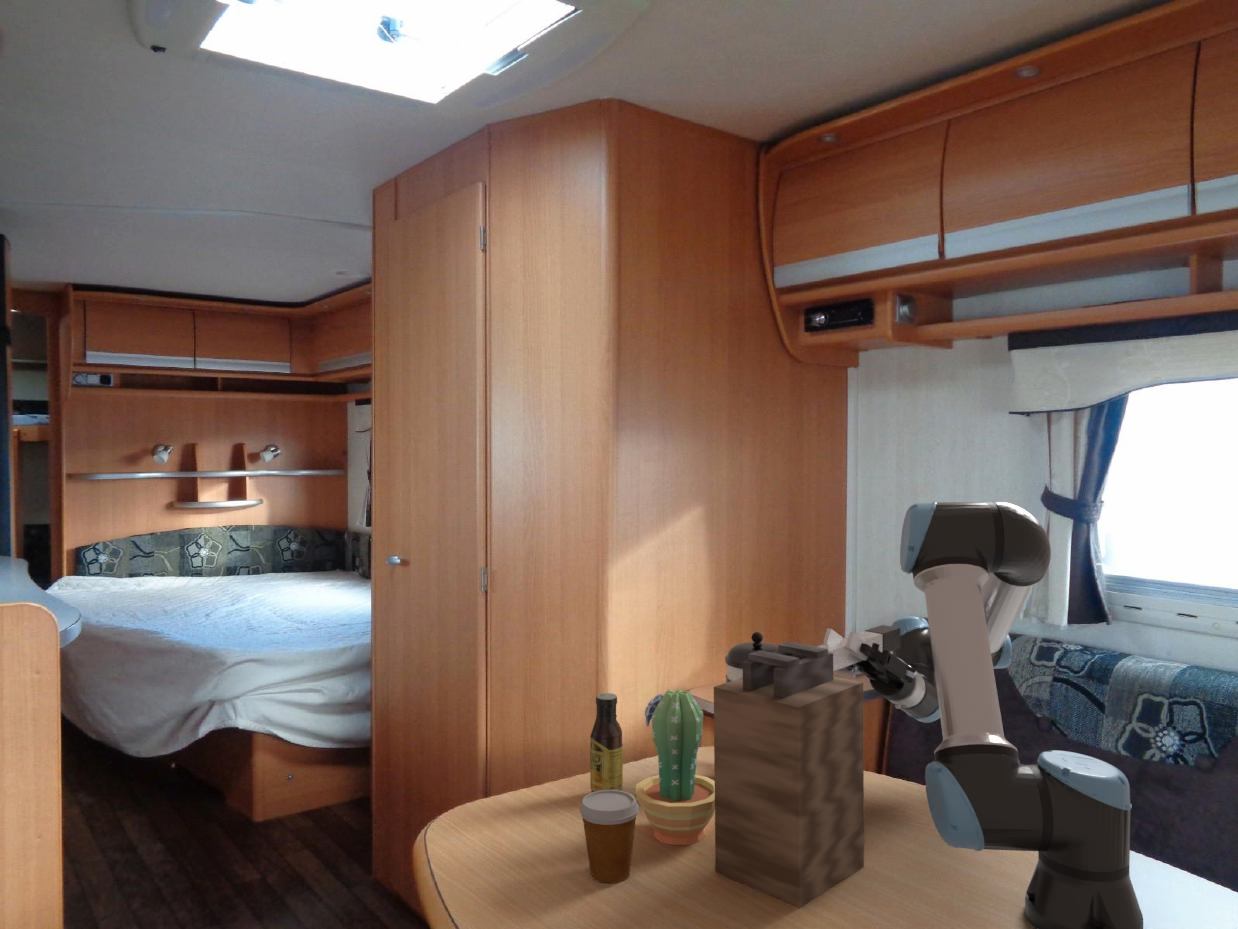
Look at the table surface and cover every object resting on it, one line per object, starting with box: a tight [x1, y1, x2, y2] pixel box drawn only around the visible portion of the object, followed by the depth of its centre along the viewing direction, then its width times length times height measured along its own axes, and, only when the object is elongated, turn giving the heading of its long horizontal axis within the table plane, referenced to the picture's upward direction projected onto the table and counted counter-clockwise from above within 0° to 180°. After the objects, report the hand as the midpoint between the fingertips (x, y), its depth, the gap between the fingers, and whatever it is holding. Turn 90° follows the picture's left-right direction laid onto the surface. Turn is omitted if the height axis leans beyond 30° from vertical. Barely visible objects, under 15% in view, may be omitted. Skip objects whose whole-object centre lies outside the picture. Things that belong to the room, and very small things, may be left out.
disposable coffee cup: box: [579, 790, 640, 884], centre depth 151 cm, size 10×10×12 cm
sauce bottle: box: [589, 692, 624, 793], centre depth 181 cm, size 6×6×20 cm
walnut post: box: [713, 641, 865, 908], centre depth 151 cm, size 18×16×35 cm
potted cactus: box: [635, 688, 715, 846], centre depth 165 cm, size 15×15×25 cm
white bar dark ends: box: [802, 624, 900, 672], centre depth 164 cm, size 26×4×4 cm, turn 135°
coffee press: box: [724, 631, 779, 683], centre depth 190 cm, size 17×16×30 cm
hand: (838, 637), depth 160 cm, fingers closed on white bar dark ends, 4 cm apart
